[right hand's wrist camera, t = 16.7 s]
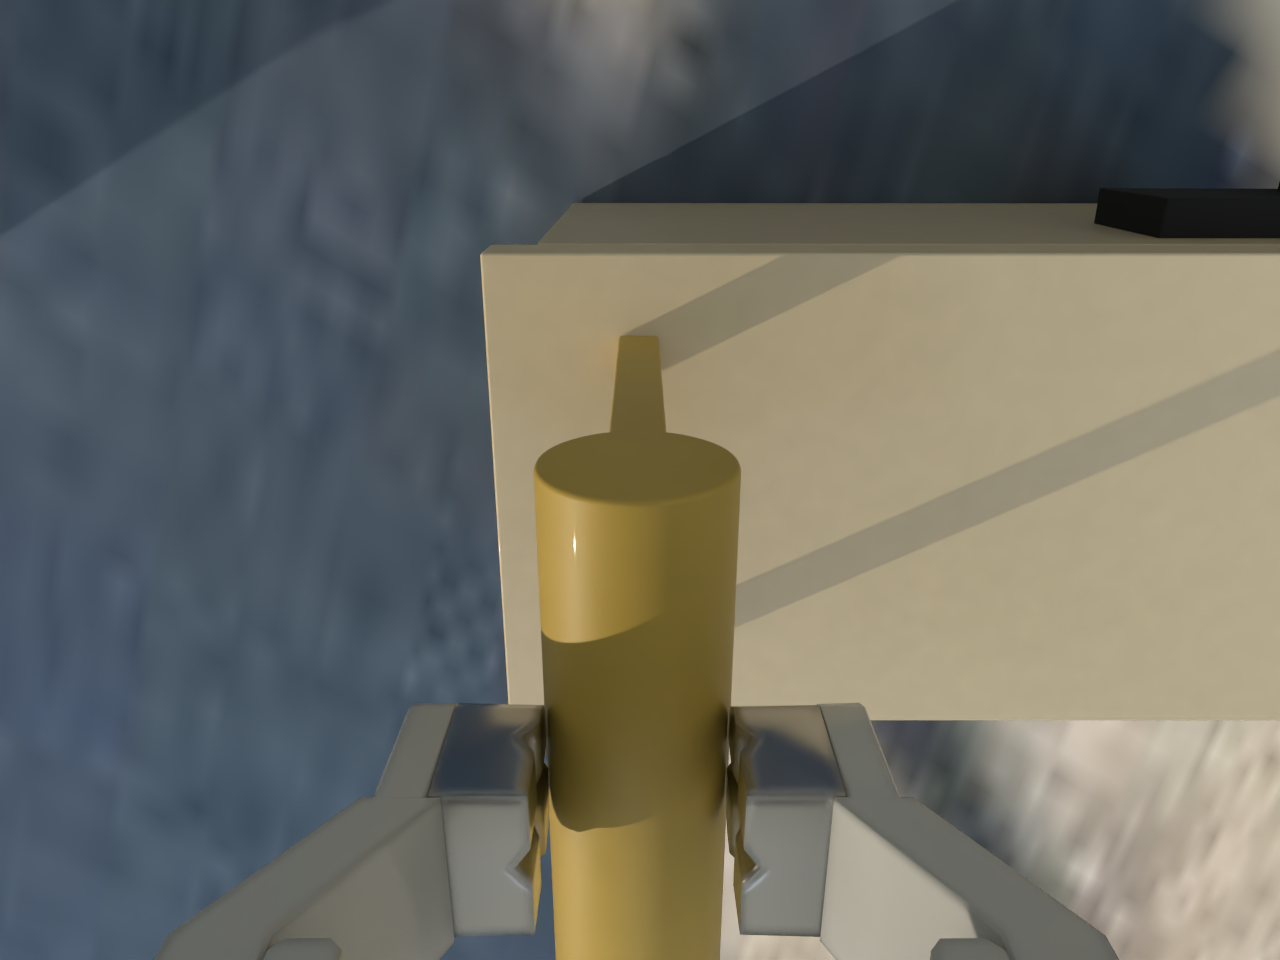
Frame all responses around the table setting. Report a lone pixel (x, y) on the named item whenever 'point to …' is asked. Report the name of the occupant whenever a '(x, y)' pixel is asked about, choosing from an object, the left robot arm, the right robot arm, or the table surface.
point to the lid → (862, 515)
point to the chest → (849, 225)
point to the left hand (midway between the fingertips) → (1082, 449)
